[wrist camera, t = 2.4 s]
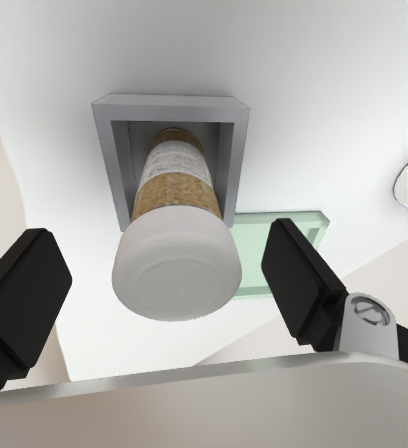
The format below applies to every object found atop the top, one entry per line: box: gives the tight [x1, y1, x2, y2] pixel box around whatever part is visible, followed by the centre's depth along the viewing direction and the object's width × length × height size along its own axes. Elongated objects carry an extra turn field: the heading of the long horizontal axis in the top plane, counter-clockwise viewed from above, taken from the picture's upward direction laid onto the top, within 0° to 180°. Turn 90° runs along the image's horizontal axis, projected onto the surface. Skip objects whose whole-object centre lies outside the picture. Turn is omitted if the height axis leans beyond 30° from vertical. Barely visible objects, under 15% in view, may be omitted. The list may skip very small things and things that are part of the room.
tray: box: [229, 211, 330, 300], centre depth 25 cm, size 12×16×2 cm
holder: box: [91, 93, 250, 232], centre depth 16 cm, size 9×9×4 cm
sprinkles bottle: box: [112, 128, 242, 321], centre depth 13 cm, size 5×5×13 cm
